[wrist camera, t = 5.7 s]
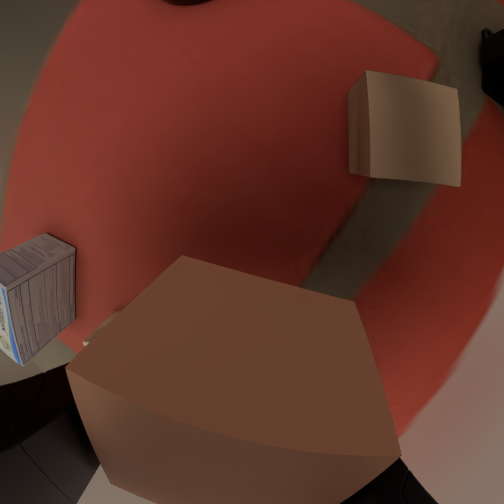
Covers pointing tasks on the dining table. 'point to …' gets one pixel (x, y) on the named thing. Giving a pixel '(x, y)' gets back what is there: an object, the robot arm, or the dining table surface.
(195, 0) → the supplement bottle
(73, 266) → the medicine box
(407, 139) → the walnut block
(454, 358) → the dining table surface
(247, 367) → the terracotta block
